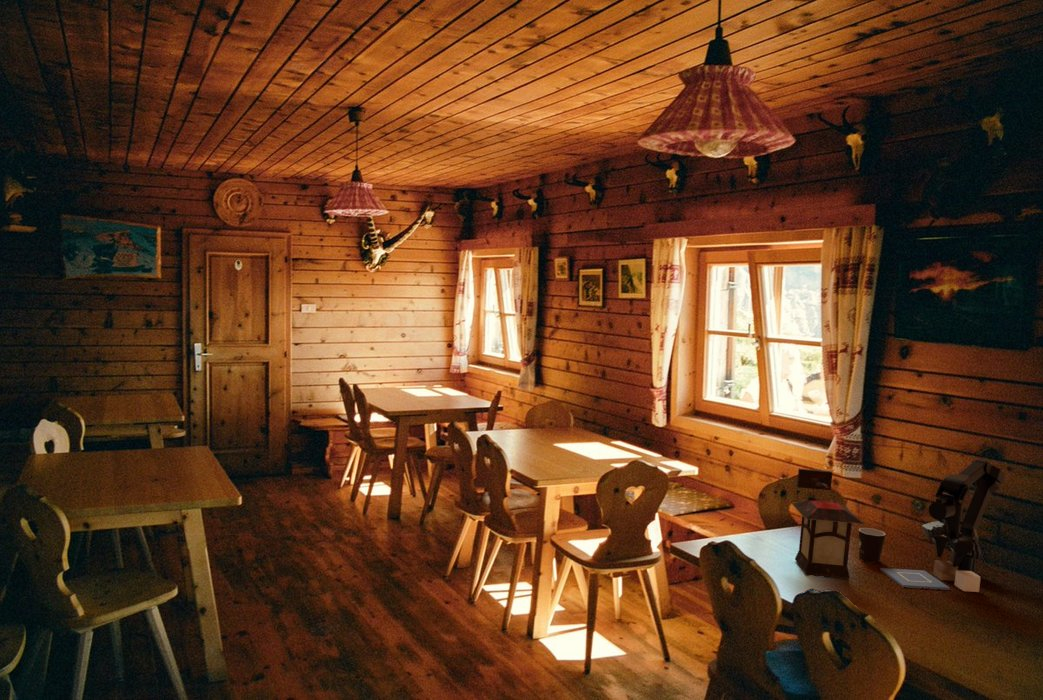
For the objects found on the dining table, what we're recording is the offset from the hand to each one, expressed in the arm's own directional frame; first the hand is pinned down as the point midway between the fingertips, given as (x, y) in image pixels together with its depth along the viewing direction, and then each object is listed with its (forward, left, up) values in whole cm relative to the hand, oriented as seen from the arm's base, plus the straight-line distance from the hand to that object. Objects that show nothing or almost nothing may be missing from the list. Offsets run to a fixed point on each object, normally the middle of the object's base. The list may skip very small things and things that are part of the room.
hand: (946, 561), depth 259 cm
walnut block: (0, 0, -6) cm, 6 cm away
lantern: (+41, -4, -6) cm, 42 cm away
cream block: (-2, +9, -6) cm, 11 cm away
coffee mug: (+18, -15, -6) cm, 24 cm away
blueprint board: (+13, +4, -5) cm, 14 cm away
